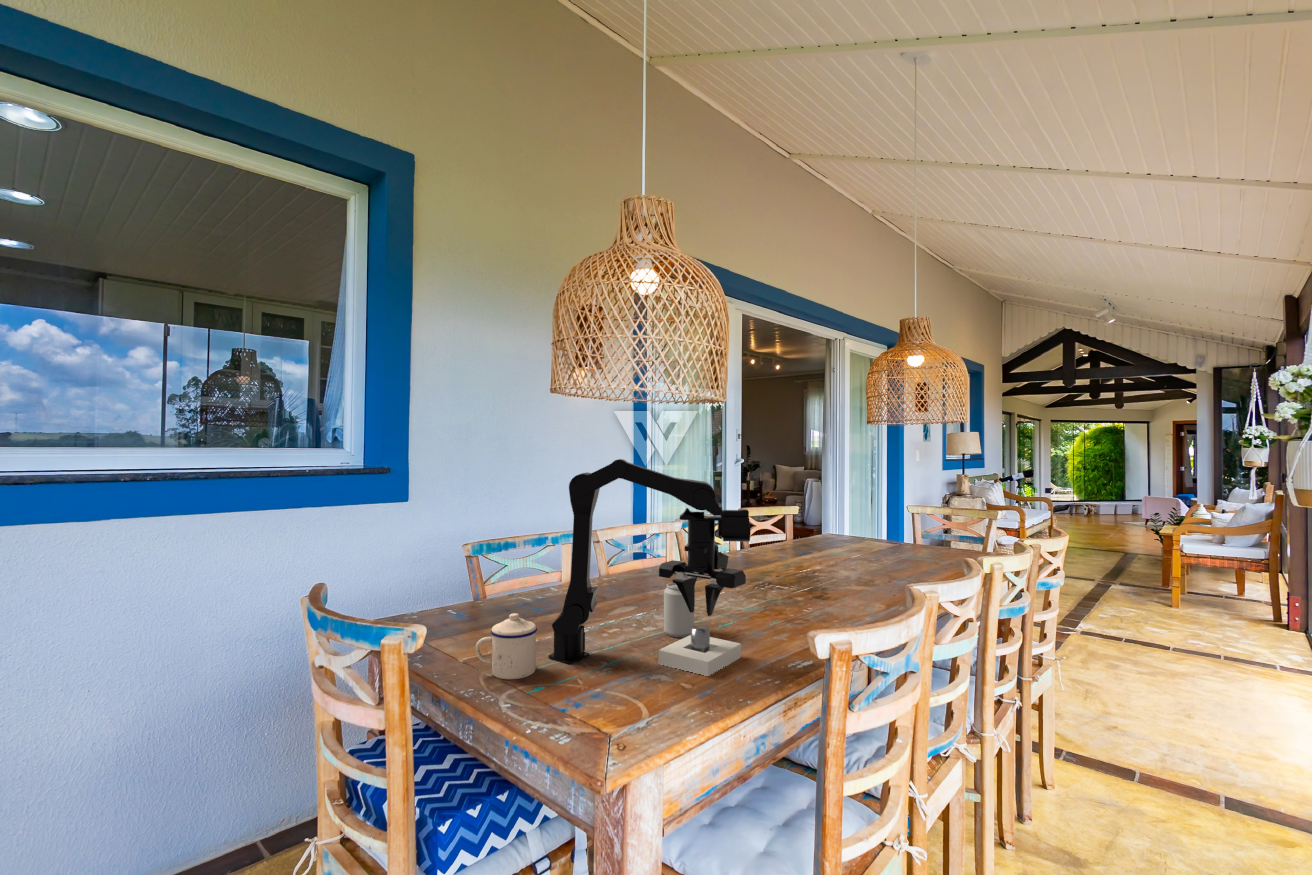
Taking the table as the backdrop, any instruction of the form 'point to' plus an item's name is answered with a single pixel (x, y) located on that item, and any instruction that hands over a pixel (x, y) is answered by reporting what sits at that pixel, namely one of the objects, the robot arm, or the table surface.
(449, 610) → the table surface
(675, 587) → the can
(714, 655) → the block
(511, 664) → the teacup with lid
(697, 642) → the grey metal cylinder
